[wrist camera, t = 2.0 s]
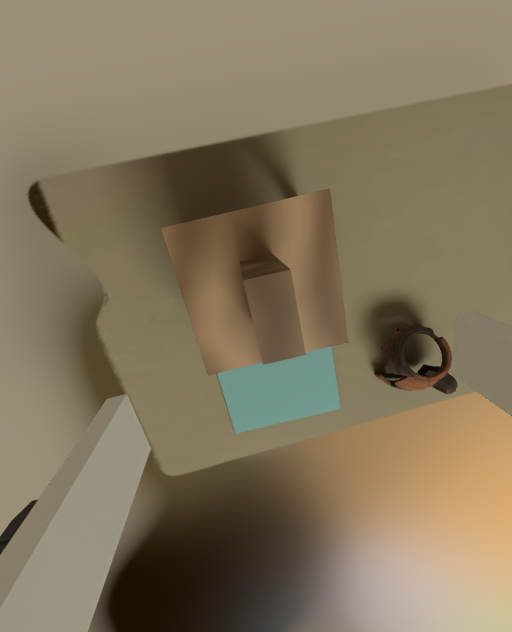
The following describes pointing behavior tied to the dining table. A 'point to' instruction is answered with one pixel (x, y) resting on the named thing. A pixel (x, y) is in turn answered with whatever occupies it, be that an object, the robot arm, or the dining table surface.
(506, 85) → the dining table surface
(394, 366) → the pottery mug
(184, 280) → the brown piece
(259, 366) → the teal mat
